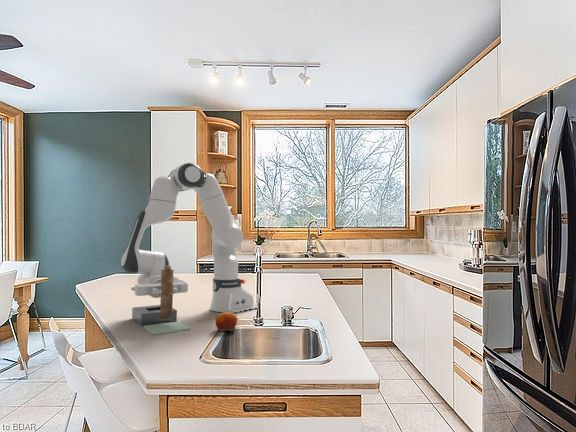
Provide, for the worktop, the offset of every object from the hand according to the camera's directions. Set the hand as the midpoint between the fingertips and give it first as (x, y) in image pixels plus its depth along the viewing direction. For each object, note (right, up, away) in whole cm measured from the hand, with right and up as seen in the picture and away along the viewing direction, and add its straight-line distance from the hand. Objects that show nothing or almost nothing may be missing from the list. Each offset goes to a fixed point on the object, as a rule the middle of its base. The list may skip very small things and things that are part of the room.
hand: (167, 291), depth 160 cm
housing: (-10, -14, +14) cm, 22 cm away
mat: (-1, -14, +1) cm, 14 cm away
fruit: (+22, -15, -1) cm, 27 cm away
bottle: (-1, -10, +1) cm, 10 cm away
